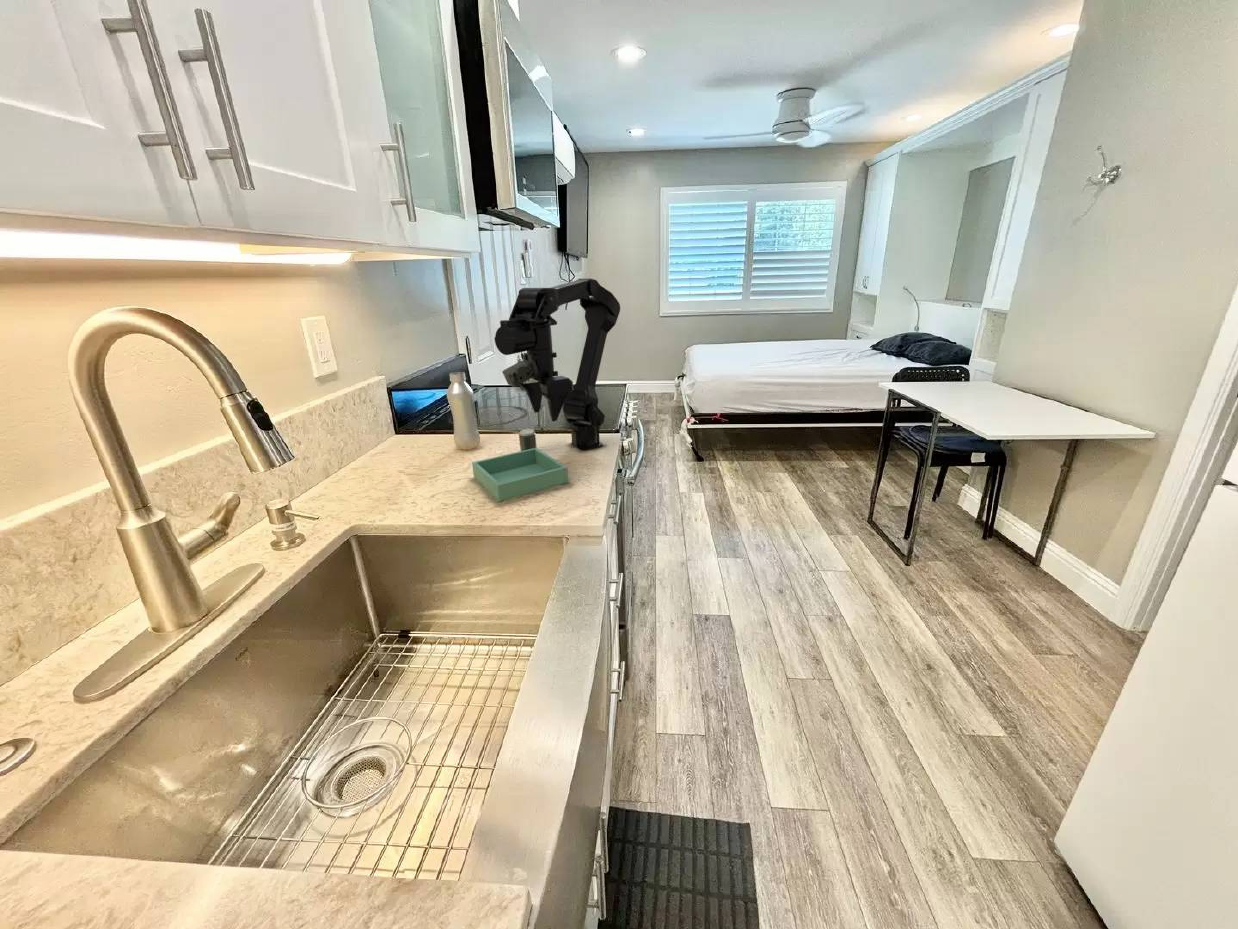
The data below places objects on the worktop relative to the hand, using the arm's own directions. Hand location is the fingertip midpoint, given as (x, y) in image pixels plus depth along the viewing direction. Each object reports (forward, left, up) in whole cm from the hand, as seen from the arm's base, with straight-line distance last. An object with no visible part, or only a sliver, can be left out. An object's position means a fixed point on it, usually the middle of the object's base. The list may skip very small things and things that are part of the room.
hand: (545, 416), depth 114 cm
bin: (+10, +6, -12) cm, 17 cm away
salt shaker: (+2, -7, -12) cm, 14 cm away
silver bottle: (+12, -24, -12) cm, 29 cm away
